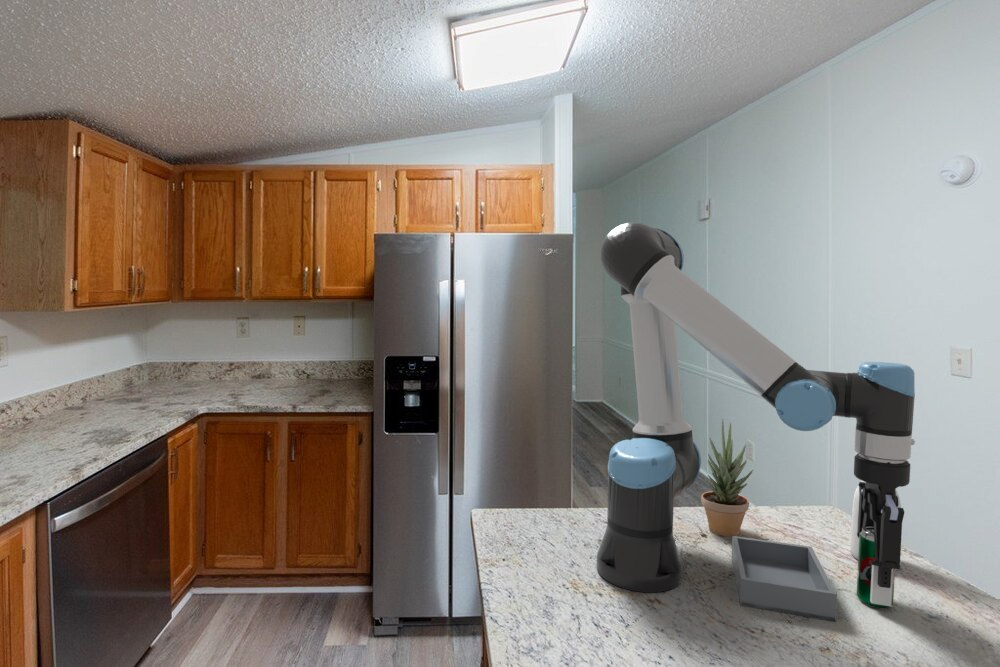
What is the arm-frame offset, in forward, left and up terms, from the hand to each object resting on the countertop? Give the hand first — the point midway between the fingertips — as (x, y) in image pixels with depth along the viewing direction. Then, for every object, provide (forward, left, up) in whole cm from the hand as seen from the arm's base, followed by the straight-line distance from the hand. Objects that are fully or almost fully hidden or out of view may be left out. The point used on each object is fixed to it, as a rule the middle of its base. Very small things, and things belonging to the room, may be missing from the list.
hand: (874, 594), depth 90 cm
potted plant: (-22, +22, -1) cm, 31 cm away
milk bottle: (+5, +18, -1) cm, 19 cm away
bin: (-15, 0, -1) cm, 15 cm away
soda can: (0, 0, -1) cm, 1 cm away
